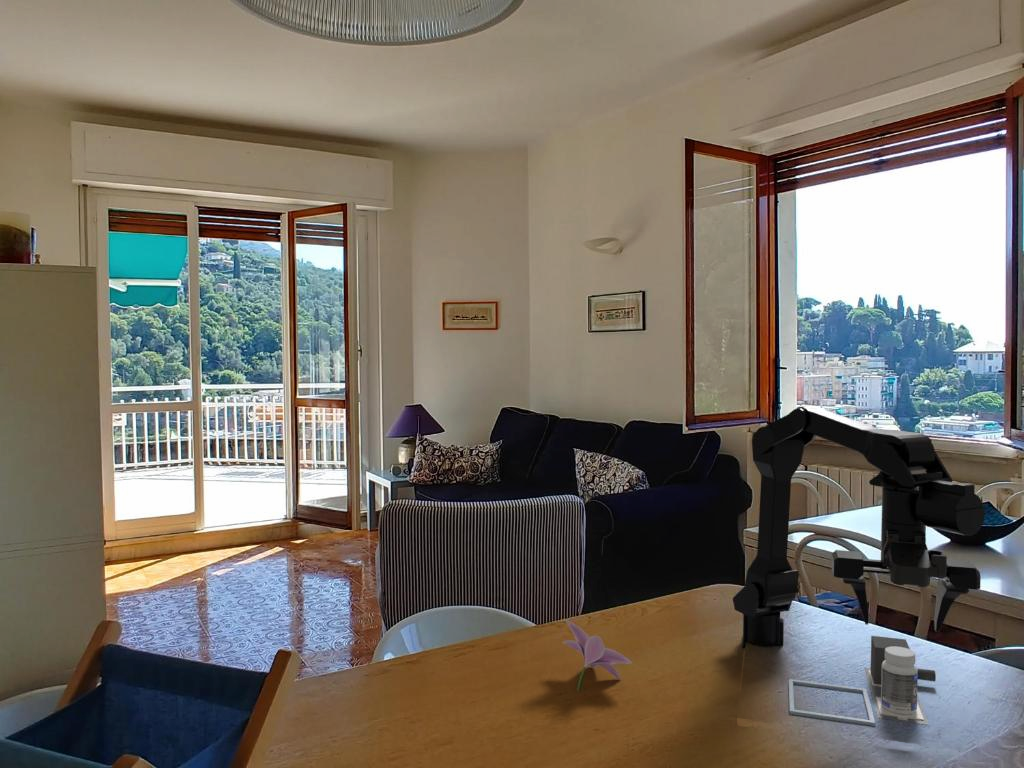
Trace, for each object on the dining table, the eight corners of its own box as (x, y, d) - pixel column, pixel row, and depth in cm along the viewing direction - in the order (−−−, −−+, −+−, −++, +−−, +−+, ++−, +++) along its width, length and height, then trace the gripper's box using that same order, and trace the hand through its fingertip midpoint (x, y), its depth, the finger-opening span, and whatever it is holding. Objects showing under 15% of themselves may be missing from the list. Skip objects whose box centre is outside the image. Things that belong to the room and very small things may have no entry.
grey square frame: (789, 718, 112) (789, 710, 112) (788, 686, 123) (788, 678, 122) (875, 731, 108) (875, 722, 108) (866, 696, 119) (866, 689, 119)
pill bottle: (921, 716, 110) (922, 659, 110) (885, 713, 111) (887, 656, 111) (911, 701, 115) (912, 646, 115) (877, 698, 116) (878, 643, 116)
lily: (635, 705, 119) (647, 641, 122) (568, 684, 115) (583, 619, 119) (597, 698, 129) (610, 639, 133) (535, 678, 126) (549, 619, 130)
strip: (877, 723, 111) (877, 715, 111) (864, 672, 128) (864, 666, 128) (928, 730, 108) (929, 722, 108) (908, 677, 126) (908, 671, 125)
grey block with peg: (874, 684, 121) (875, 647, 121) (870, 672, 126) (871, 635, 126) (937, 692, 118) (938, 654, 118) (931, 679, 123) (932, 642, 123)
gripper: (837, 528, 107) (835, 639, 108) (992, 538, 101) (989, 656, 102) (832, 512, 118) (830, 613, 119) (972, 520, 112) (969, 627, 113)
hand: (901, 627), depth 113 cm, fingers open, 9 cm apart
